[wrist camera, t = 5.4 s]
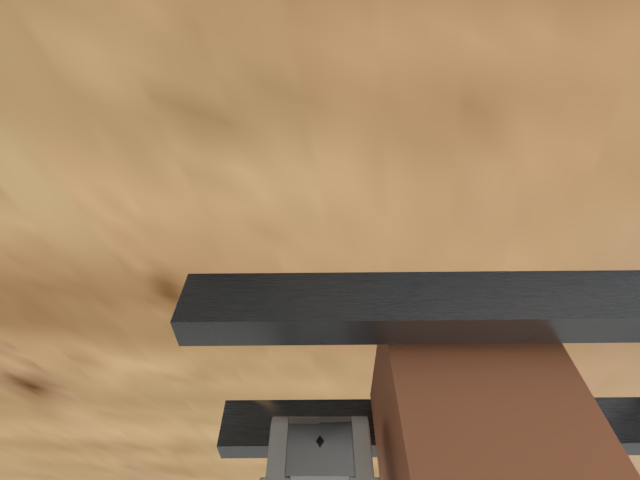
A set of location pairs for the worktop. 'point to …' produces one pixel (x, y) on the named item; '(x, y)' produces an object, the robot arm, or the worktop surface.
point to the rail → (402, 326)
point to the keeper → (489, 415)
